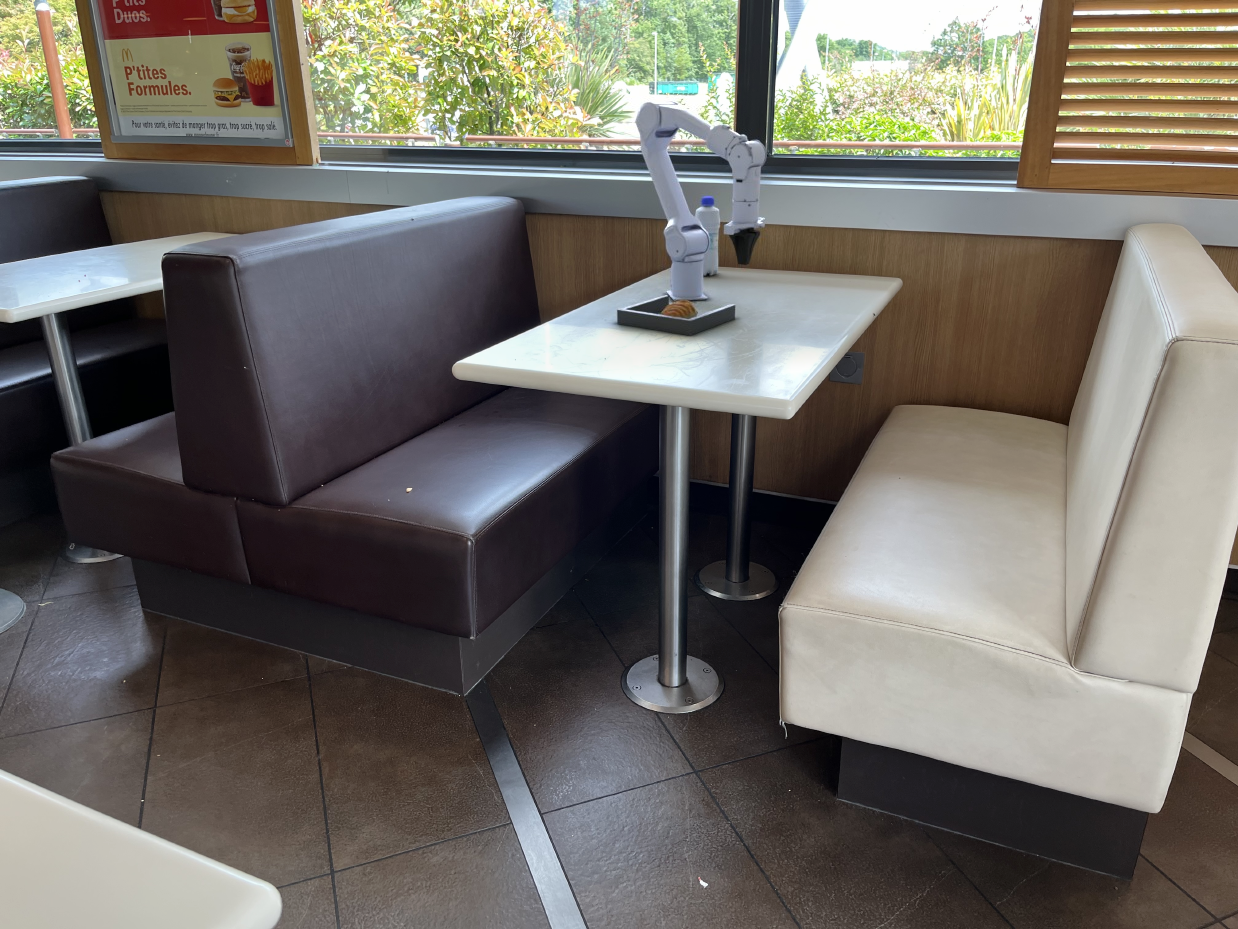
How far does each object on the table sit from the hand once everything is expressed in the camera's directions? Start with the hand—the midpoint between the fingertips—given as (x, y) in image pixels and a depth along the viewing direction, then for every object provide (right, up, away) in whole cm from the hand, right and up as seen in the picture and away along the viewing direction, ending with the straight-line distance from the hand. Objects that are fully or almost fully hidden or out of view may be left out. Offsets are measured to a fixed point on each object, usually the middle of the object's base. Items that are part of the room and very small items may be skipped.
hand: (743, 264), depth 197 cm
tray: (-15, -14, -9) cm, 22 cm away
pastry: (-15, -14, -8) cm, 22 cm away
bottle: (-4, +6, +40) cm, 41 cm away
